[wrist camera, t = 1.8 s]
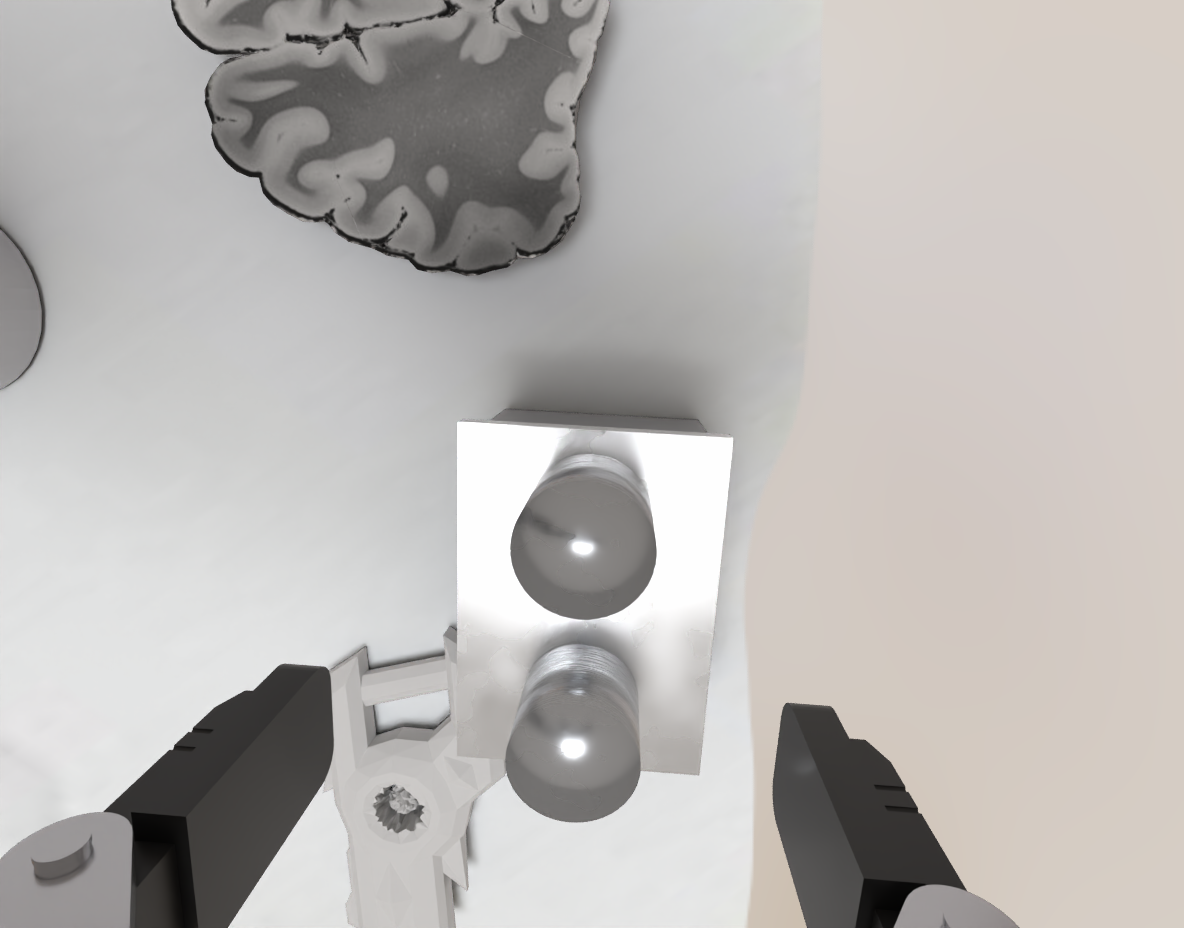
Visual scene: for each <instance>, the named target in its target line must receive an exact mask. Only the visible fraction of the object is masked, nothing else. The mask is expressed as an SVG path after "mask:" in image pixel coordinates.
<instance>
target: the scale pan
mask: <svg viewBox="0 0 1184 928" xmlns="http://www.w3.org/2000/svg"><path fill="white" fill-rule="evenodd" d="M732 447H733V437H732V436H731V435H730V434H718V433H701V432H683V431H666V430H649V429H632V428H614V427H597V426H580V425H563V424H545V423H528V422H511V421H494V420H476V419H462V420H460V421H459V422H458V517H457V756H460V757H473V758H486V759H498V760H505V756H506V749H507V746H508V742H509V738H510V735H511V731H512V727H513V724H514V720H515V717H516V713H517V709H518V706H519V702H520V699H521V695H522V691H523V688H524V684H525V680H526V678H527V675H528V673H529V671H530V670H531V668H532V666H533V665H534V664H535V663H536V662H537V661H538V660H539V659H540V658H541V657H542V656H543V655H545V654H546V653H548V652H550V651H552V650H553V649H556V648H559V647H562V646H566V645H573V644H585V645H592V646H596V647H599V648H602V649H604V650H607V651H608V652H610V653H612V654H614V655H615V656H616V657H618V658H619V659H620V660H621V661H622V662H623V663H624V664H625V665H626V666H627V667H628V668H629V670H630V672H631V673H632V675H633V677H634V679H635V682H636V685H637V689H638V703H639V732H640V761H641V770H640V771H650V772H663V773H675V774H688V775H699V773H700V763H701V753H702V743H703V733H704V723H705V713H706V704H707V694H708V684H709V674H710V664H711V654H712V644H713V634H714V625H715V615H716V605H717V595H718V585H719V575H720V565H721V555H722V545H723V536H724V526H725V516H726V506H727V496H728V486H729V476H730V466H731V456H732ZM580 454H599V455H604V456H608V457H611V458H613V459H616V460H618V461H620V462H622V463H623V464H625V465H626V466H628V467H629V468H630V469H631V470H632V471H634V472H635V473H636V474H637V476H638V477H639V478H640V479H641V481H642V482H643V484H644V486H645V487H646V490H647V492H648V494H649V498H650V501H651V508H652V515H653V522H654V529H655V537H656V544H657V560H656V566H655V570H654V573H653V576H652V578H651V580H650V582H649V584H648V586H647V587H646V589H645V591H644V592H643V593H642V594H641V595H640V597H639V598H638V599H637V600H635V601H634V602H633V603H632V604H631V605H629V606H628V607H627V608H625V609H624V610H622V611H620V612H618V613H616V614H613V615H611V616H608V617H604V618H600V619H592V620H578V619H570V618H566V617H562V616H559V615H557V614H554V613H552V612H550V611H548V610H546V609H544V608H543V607H542V606H540V605H539V604H537V603H536V602H535V601H534V600H533V599H532V598H531V597H530V596H529V595H528V594H527V593H526V592H525V591H524V589H523V588H522V586H521V585H520V583H519V581H518V579H517V577H516V575H515V573H514V570H513V567H512V563H511V557H510V541H511V535H512V531H513V528H514V525H515V522H516V520H517V518H518V516H519V515H520V513H521V511H522V509H523V507H524V505H525V504H526V502H527V500H528V498H529V496H530V494H531V493H532V491H533V489H534V487H535V485H536V484H537V482H538V480H539V479H540V478H541V476H542V475H543V474H544V473H545V472H546V471H547V470H548V469H549V468H550V467H551V466H553V465H554V464H556V463H557V462H559V461H561V460H563V459H565V458H568V457H571V456H575V455H580Z"/></svg>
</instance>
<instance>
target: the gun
mask: <svg viewBox="0 0 1184 928" xmlns="http://www.w3.org/2000/svg"><path fill="white" fill-rule="evenodd" d="M443 637H444V648H445V655H443V656H438V657H433V658H428V659H423V660H418V661H413V662H408V663H403V664H397V665H392V666H387V667H382V668H377V669H372V670H369V666H368V657H367V648H366V647H365V648H363V649H362V650H360V651H359V652H357V653H356V654H354V655H353V656H351V657H350V658H348V659H347V660H345V661H344V662H342V663H341V664H339V665H338V666H336V667H335V668H333V669H332V670H330V671H329V673H330V676H331V690H332V711H333V732H334V751H333V757H332V762H331V765H330V769H329V772H328V774H327V776H326V779H325V784H324V790H323V793H324V792H326V791H329V790H331V789H333V790H334V798H335V803H336V806H337V808H338V811H339V813H340V816H341V818H342V820H343V823H344V825H345V828H346V830H347V833H348V839H349V849H348V851H347V859H348V867H349V875H350V883H351V891H352V892H351V894H350V896H349V898H348V900H347V902H346V911H347V919H348V923H349V924H351V925H353V926H354V927H356V928H456V924H455V913H454V903H453V892H452V882H451V879H452V880H453V881H455V882H456V883H457V884H459V885H460V886H461V887H462V888H464V889H465V890H466V891H467V890H468V887H469V884H468V865H467V846H466V829H467V826H468V823H469V821H470V817H471V812H472V807H473V802H474V800H475V799H477V798H478V797H479V796H480V795H482V794H483V793H484V792H485V791H487V790H488V789H489V788H490V787H491V786H493V785H494V784H495V783H496V782H498V781H499V780H500V779H501V778H503V777H504V776H505V773H506V765H505V760H498V759H486V758H473V757H460V756H457V631H456V630H455V629H453V628H452V627H450V626H449V628H448V629H447V631H446V632H445V633H444V635H443ZM447 689H448V693H449V704H450V716H449V717H448V718H447V719H445V720H444V721H443V722H442V723H441V724H440V725H439V726H438V727H437V728H436V729H435V730H433V729H422V728H411V727H401V728H398V729H395V730H391V731H388V732H385V733H382V734H379V735H376V729H375V720H374V711H373V705H375V704H380V703H385V702H389V701H394V700H399V699H404V698H409V697H413V696H418V695H423V694H428V693H433V692H437V691H442V690H447ZM392 785H395V786H394V788H393V789H392V790H390V788H391V786H392Z"/></svg>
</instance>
